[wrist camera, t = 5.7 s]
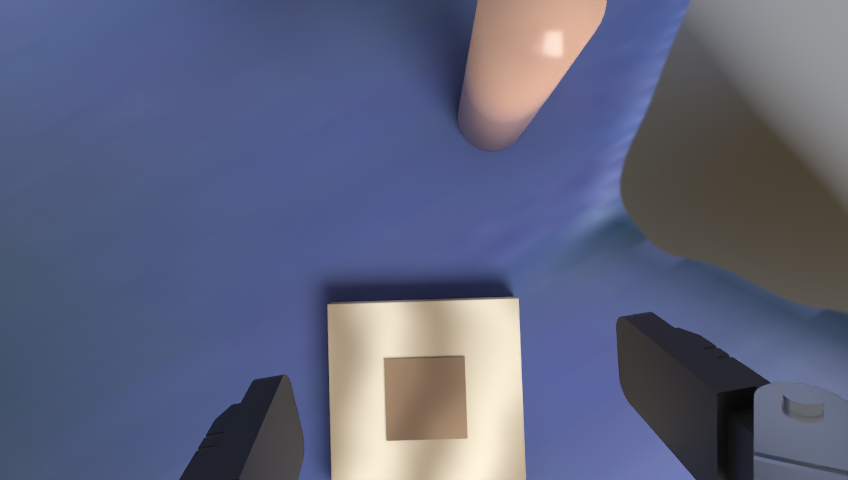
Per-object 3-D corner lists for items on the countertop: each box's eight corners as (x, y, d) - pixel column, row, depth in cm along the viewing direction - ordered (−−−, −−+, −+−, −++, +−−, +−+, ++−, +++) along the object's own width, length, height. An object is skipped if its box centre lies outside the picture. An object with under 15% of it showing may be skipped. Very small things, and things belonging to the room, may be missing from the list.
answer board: (337, 487, 32) (331, 500, 30) (332, 302, 32) (327, 304, 30) (521, 482, 31) (526, 495, 30) (514, 296, 32) (518, 298, 30)
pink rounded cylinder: (458, 152, 32) (482, 59, 17) (456, 84, 33) (477, -65, 18) (527, 150, 32) (610, 54, 17) (524, 82, 33) (603, -70, 18)
